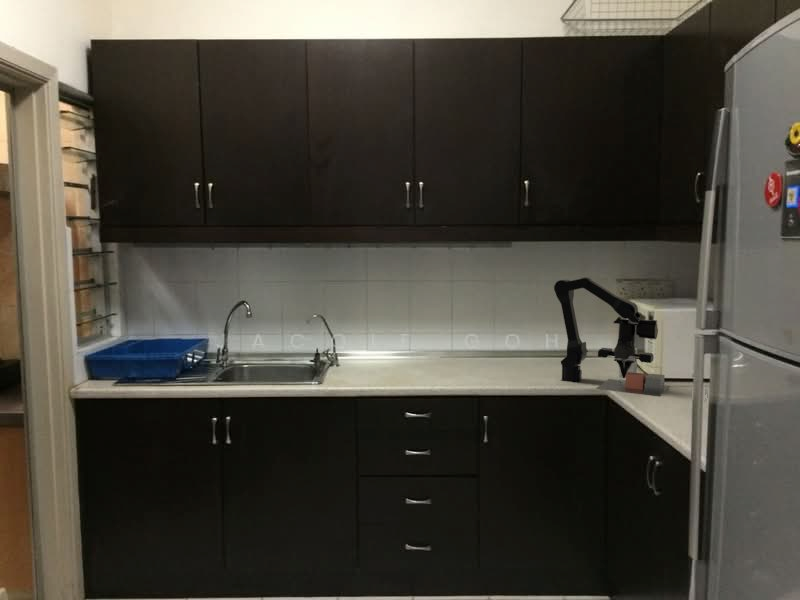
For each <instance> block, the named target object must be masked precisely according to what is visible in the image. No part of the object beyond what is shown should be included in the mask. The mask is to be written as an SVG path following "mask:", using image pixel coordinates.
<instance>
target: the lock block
mask: <svg viewBox="0 0 800 600" xmlns="http://www.w3.org/2000/svg"><path fill="white" fill-rule="evenodd" d="M646 376H647V374H646V373H642V372H637V373H634V372H628V373H627V374H626V378H625V380H626V387H625V388H631V389H640V390H643V382H644V383H645V381H646Z"/></svg>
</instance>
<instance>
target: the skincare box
mask: <svg viewBox="0 0 800 600" xmlns="http://www.w3.org/2000/svg"><path fill="white" fill-rule="evenodd" d="M635 354H638V348H636V347H635ZM626 360H627V359H626ZM626 360H625V361H626ZM628 372H634V373H638V359H636V362H634V363H632V364H631V366H630V368H629V370H628ZM628 372H627V373H628ZM619 377H620V378H621V379H622V378H623V377H622V373H621V369H620V367H619V366H618V378H619ZM623 379H626V377H625V378H623Z"/></svg>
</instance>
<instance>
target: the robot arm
mask: <svg viewBox="0 0 800 600" xmlns="http://www.w3.org/2000/svg"><path fill="white" fill-rule="evenodd" d="M580 289H584V290H586V291H588V292H589V293H591V294H592V295H593V296H595V297H597V298H598V299H600V300H601V301H603V302H604V303H606V304H607V305H609V306H610V307H611V308H612V309H613V310H614V311H615V312H616V314H618V315H619V317H617V318H616V319H615V320H614V321H613V324H618V334H617V335H618V337H617V343H616V346H615V347H614V349H612V348H609V347H602V348H600V349H599V350H598V352H597V357H598V358H605V359H606V358H607V357H614V358H613V361H614V362H616V363H617V364H618V368H619V367H620V369H621V373H622V377H623V379H626V378H625V377H626V374H627V372H628V370H629V368H630V366H631V364H632V363H634V362H636V359H637V360H639V361H640V363H646V364H651V363H652V362H654V354H653V353H652V352H645V351H644V352H643V351H642V352H641V353H637V354H635V348H636V347H635V340H636V335H637V336H638V338H640V339H649V340H650V339H651V340H656V339H657V338H658V332H659V328H658V320H656V319H655V320H654V319H651V320H650V319H643V317H642V315H641V314H640V312H639V308H638V305H637V304H636V303H635V302H634V301H631V300H629V299H625V298H623V297H620V296H618V295H616V294H614V293H613V292H611V291H610V290H608V289H606V288H605V287H603V286H602V285H601V284H599V283H597V282H596V281H594V280H593V279H592V278H590V277H588V276H587V277H585V276H584V277H581V278H579V279H573V280H570V279H561V280H557V281H556V282H555V284H554V285H553V290H554V293H555V296H556V298H557V299H558V302H559V303H560V306H561V311H562V316H563V321H564V327H565V332H566V337H567V343H566V344H567V345H566V356H565V357H564V358H563V359H561V361H560V365H561V379H560V382H561V381H562V382H569V383H580V382H581V381H582V377H583V376H582V374H583V373H582V369H581V363H583V361H584V360H585V359H586V358H587V353H588V352H589V351H588V349H587V342H586V341H582V340H581V338H580V333H579V327H578V323H577V322H578V321H577V318H576V317H577V316H576V312H575V307H574V296H575V295H574V294H575V290H580ZM626 359H627V360H626ZM625 360H626V361H625Z"/></svg>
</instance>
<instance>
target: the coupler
mask: <svg viewBox="0 0 800 600" xmlns="http://www.w3.org/2000/svg"><path fill="white" fill-rule="evenodd" d="M625 387H626V379H623V380H622V379H613V378H609V379H607V380H605V381H604V382H602V383H601V384H599V385H598V386H596V388H595V390H601V391H611V392H617V393H618V392H619V393H626V394H627V393H628V394H636V395H644V396H651V397H661V396H662V395H663V394H664V393H665V392H666V390H669V389H670V388H669V387H671V386H670V385H666V384H665V374H659V373H650V372H649V374H648V375H646V381H645V383H644V382H643V390H640V389H631V388H625ZM668 388H669V389H668Z"/></svg>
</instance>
